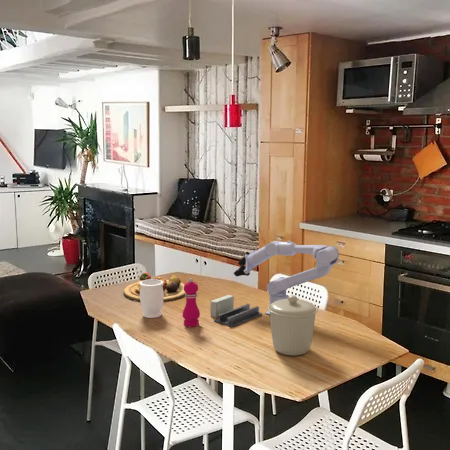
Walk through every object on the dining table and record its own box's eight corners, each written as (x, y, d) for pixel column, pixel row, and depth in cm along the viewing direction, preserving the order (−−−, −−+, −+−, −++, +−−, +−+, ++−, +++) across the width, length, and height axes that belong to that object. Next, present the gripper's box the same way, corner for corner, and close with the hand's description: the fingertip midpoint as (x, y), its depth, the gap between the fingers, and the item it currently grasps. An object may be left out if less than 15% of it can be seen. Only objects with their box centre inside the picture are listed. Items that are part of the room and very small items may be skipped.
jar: (162, 319, 240) (161, 285, 237) (138, 319, 240) (137, 285, 237) (165, 311, 250) (164, 278, 248) (142, 311, 251) (141, 278, 248)
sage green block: (228, 309, 253) (228, 294, 252) (234, 311, 251) (234, 296, 250) (210, 316, 244) (210, 301, 243) (216, 318, 242) (216, 302, 241)
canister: (284, 337, 220) (285, 285, 216) (325, 349, 209) (327, 294, 205) (257, 351, 206) (258, 296, 202) (299, 364, 195) (301, 306, 191)
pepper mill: (197, 328, 230) (197, 281, 226) (180, 326, 231) (179, 280, 228) (201, 322, 237) (201, 276, 233) (185, 320, 238) (184, 275, 235)
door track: (244, 309, 252) (244, 302, 252) (262, 314, 246) (262, 307, 245) (214, 321, 237) (214, 314, 237) (232, 327, 231) (232, 319, 230)
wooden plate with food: (119, 286, 289) (119, 271, 287) (180, 281, 298) (180, 266, 297) (128, 307, 259) (127, 290, 257) (195, 300, 268) (195, 283, 267)
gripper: (256, 241, 253) (235, 253, 261) (249, 260, 242) (227, 273, 250) (266, 251, 255) (245, 264, 263) (259, 271, 244) (237, 284, 252)
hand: (237, 269), depth 257 cm, fingers open, 7 cm apart
